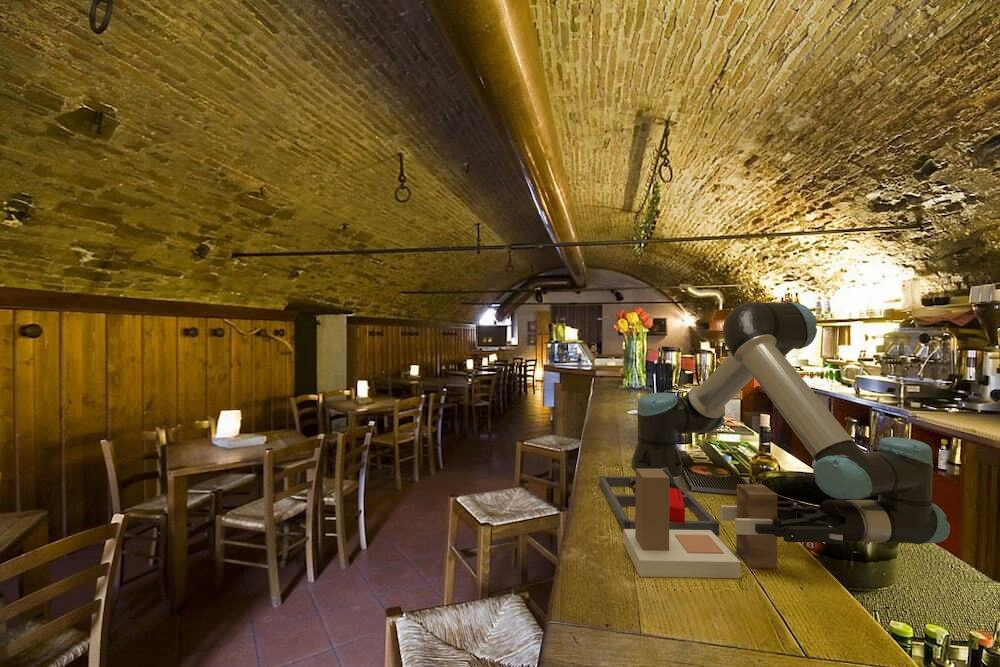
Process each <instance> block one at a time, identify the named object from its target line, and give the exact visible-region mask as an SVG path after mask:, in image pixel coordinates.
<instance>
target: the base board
mask: <svg viewBox="0 0 1000 667" xmlns="http://www.w3.org/2000/svg"><path fill="white" fill-rule="evenodd" d="M635 476H636V504H635V506H634V507H635V511H634V512H635V519H634V520H635V529H624V530H623V529H622V532H623V533H622V534H623V540H622V541H623V545H624V547H625V550H626V551H627V554H628V555H629V557H630V560H631V561H632V564H633V566H634V568H635V570H636V572H637V573H638V576H639V577H640V578H641V577H642V578H645V577H646V578H647V577H648V578H649V577H651V578H652V577H653V578H654V577H655V578H695V579H697V578H703V579H704V578H705V579H707V578H710V579H741V560H739V558H737V557H736V555H734V553H733V552H732V551H731V550H730V549H729V548H728V547H727V546H726V545H725V544H724V543H723V542H722V541H721V539H720V538H719V537H718V535H715V534H714V533H713V532H712V531H711V530H669V510H670V477H669V476H668V475H667V474H666V473H665V472H664V471H663V470H662V469H636V470H635Z"/></svg>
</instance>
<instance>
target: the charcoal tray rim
mask: <svg viewBox="0 0 1000 667" xmlns="http://www.w3.org/2000/svg"><path fill="white" fill-rule="evenodd" d="M633 477H636V475H635V476H633V475H631V476H630V475H629V476H628V475H625V476H624V475H599V486H601V487H600V489H601V490H602V492H603V494H604V497H605V498H606V500H607V502H608V504H609V505H610V509H612V512H613V513H614V516H615V517H616V520H617V519H618V520H617V522H618V523H619V525H620V527H621V529H622V531H623V530H624V529H635V519H629V518H628V516H627V514H626V513H625V511H624V509H623V507H635V504H636V495H635V494H624V493H623V494H619V493H618V494H616V493H614V491H613V490H612V488H611V487H629V488H632V487H631V486H630V485H629V482H628V481H629V479H631V478H633ZM673 479H674V487H673V488H677V489H680V490H681V494H682V499H683V503H684V507H685V508H688V509H689V510H690V511H691V512H692V513H693V514H694V515H695V516H696V517H697V519H698V520H685V527H684V526H683V523H679V522H671V521H669V530H711V531H712V532H713V533H714V534H715V535H716V536H719V535H720V523H719V522H718V520H717V519H715V517H714V516H712V514H711V513H710V512H709V511H707V509H705V507H703V506H702V504H700V503H699V502H698V500H696V499H695V498H694V496H692V495H691V494H690V493H689V492H688V491H687V489H685V488H684V487H683V486H682V485H681V483H679V482H678V481H677V479H675V478H674V477H673Z"/></svg>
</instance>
